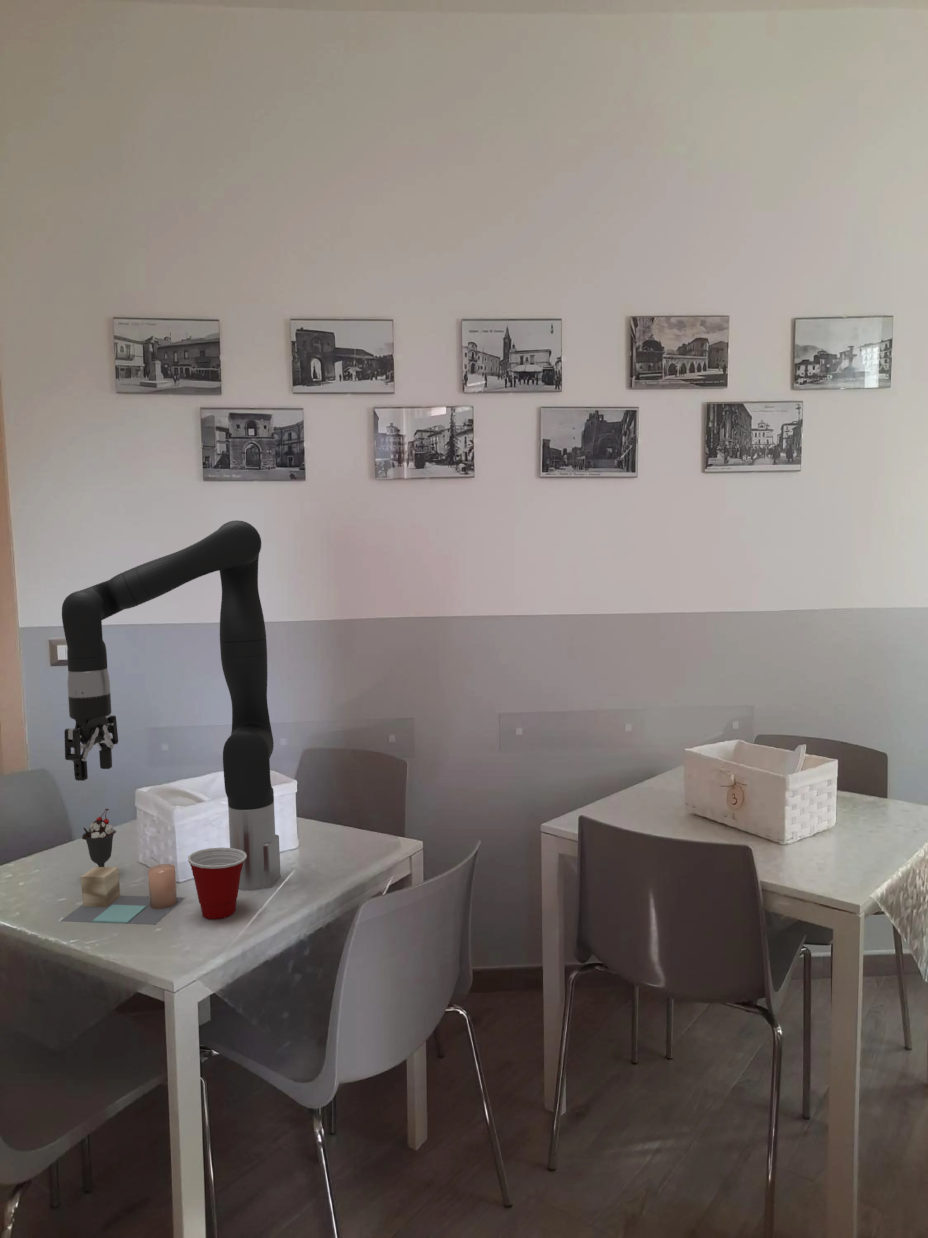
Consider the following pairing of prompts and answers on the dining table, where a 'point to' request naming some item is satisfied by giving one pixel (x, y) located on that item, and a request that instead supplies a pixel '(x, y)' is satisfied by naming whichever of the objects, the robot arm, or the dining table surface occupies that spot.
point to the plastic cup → (217, 880)
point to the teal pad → (119, 914)
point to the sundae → (99, 840)
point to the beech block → (100, 886)
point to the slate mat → (144, 917)
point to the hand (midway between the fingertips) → (94, 774)
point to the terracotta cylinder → (162, 886)
